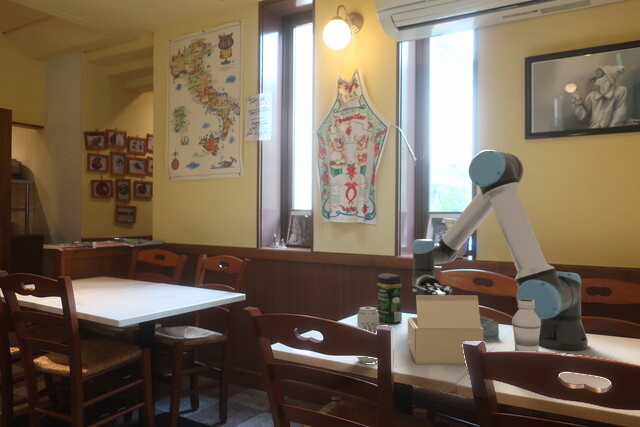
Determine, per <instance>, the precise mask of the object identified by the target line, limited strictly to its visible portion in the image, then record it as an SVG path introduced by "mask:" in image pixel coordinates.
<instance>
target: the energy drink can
mask: <svg viewBox="0 0 640 427" xmlns="http://www.w3.org/2000/svg"><path fill="white" fill-rule="evenodd" d="M358 309H359V311H358V312H357V315H356V316H357V317H356V318H357V326H356V327H359V328H362V329H365V330H368V331H370V332H373V333H376V331H377V327H378V326H379V327H380V320H379V314H378V312H377V311H378V307H374V306H360V307H359V308H358ZM357 360H358V361H360V362H362V363H373V362H376V361H377V362H378V360H377V359H374V358H368V357H358V356H357ZM360 362H359V363H360ZM362 363H361V364H362Z"/></svg>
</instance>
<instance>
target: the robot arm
mask: <svg viewBox="0 0 640 427" xmlns="http://www.w3.org/2000/svg"><path fill="white" fill-rule="evenodd" d="M468 166H469V167H468V175H469V179H470V181H471V182H472V183H473V184H475V185H476V186H478V187H479V189H480V190H479V191H478V193H477V194H476V195H475V196H474V197H473V199H471V201H470V202H469V204H468V205H467V206H466V207H465V209H464V210H463V211H462V212H461V213H460V215H459V216H458V217H457V218H456V220H455V221H454V222H453V223H452V225H451V226H450V227H449V228H448V230H447V231H446V232H445V233H444V234H443V236H442V237H441V238H440V239H439V241H437V243H435V240H434V239H430V238H429V239H428V238H427V239H426V238H423V239H422V238H421V239H420V238H419V239H415V240H413V245H412V246H413V247H412V260H413V261H412V263H413V264H412V267H413V268H412V275H413V276H412V277H411V278H412V279H411V284H412V295H453V286H451V285H449V286H444V285H442V283H441V282H440V281H439V279H438V278H436V277H435V276H436V275H435V265H438V264H439V265H440V264H441V265H442V264H448V263H451V262H453V261H455V260H456V258H457V257H458V252H459V250H460V249H461V247H462V246H464V244H465V243H466V242H467V240H469V238H470V237H471V236H472V235H473V234H474V232H475V231H476V230H477V229H478V228H479V226H480V225H481V224H482V223H483V222H484V220H485V219H486V218H487V217H488V216H489V215H490V213H491V212H493V211H494V214H495V216H496V219H497V222H498V225H499V227H500V230H501V232H502V235H503V238H504V241H505V242H506V245H507V248H508V250H509V253H510V255H511V258H512V261H513V263H514V266H515V268H516V271H517V274H516V276H515V278H514V280H515V282H516V283H515V284H516V286H517V292H516V296H515V297H516V301H517V303H518V300H519V299H530V300H534V301H535V308H534V312H535V313H536V314H537V316H538V317H539V319H540V322H541V327H540V335H539V345H538V346H542V347H544V348H545V347H546V348H549V349H553V348H554V350H561V349H566V350H565V351H582V350H586V349H588V348H589V346H588V344H589V343H588V342H589V341H588V337H587V334H586V332H585V329H584V326H583V323H582V279H581V276H580V275H579V274H578V273H575V272H565V271H556V268H555V266H552V265H550V264H549V263H547V260H546V259H545V256H544V253H543V251H542V249H541V246H540V244H539V241H538V239H537V236H536V233H535V231H534V229H533V227H532V226H533V225H532V224H531V221H530V219H529V217H528V214H527V211H526V209H525V206H524V204H523V202H522V199H521V197H520V194H519V191H518V190H519V188H520V186H521V183H520V182H521V180H522V178H523V175H524V166H523V164H522V161H521V160H520V159H519V157H517V156H516V155H514V154H512V153H508V152H503V151H499V150H496V149H485V150H484V149H483V150H481V151H480V152H478V153H476V154H475V156H473V157H472V159H471V160H470V163H469V165H468ZM585 348H586V349H585Z"/></svg>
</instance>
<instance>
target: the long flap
mask: <svg viewBox="0 0 640 427" xmlns="http://www.w3.org/2000/svg"><path fill="white" fill-rule="evenodd" d="M415 298H416V299H415V300H416V301H415V302H416V318H417V322H418V328H472V329H481V324H480V315H481V314H480V305H479V297H478V295H469V294H468V295H467V294H466V295H463V294H462V295H461V294H460V295H459V294H458V295H453V294H451V295H417V294H415Z"/></svg>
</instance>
